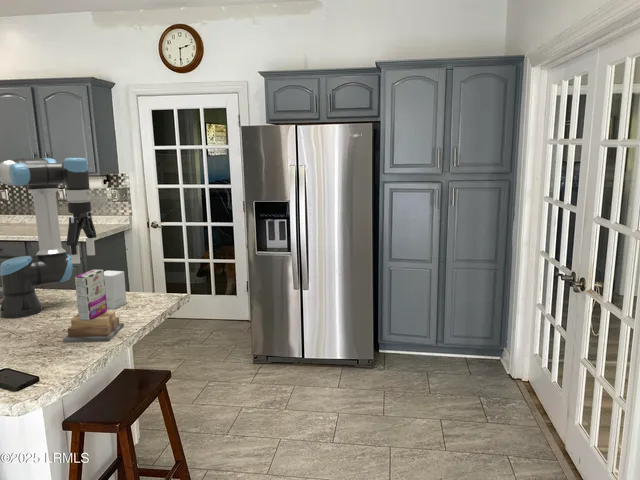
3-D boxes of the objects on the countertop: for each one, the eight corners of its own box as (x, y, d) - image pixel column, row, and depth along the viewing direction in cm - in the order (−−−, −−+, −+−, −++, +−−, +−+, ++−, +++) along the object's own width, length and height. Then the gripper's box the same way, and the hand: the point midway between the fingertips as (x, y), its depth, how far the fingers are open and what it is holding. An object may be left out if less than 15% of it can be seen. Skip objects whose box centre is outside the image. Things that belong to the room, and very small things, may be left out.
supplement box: (127, 303, 223) (125, 271, 221) (114, 309, 215) (112, 275, 212) (109, 301, 225) (107, 269, 223) (96, 307, 217) (93, 274, 214)
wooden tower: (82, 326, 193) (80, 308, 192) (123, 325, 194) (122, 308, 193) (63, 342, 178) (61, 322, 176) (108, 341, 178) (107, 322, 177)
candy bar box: (95, 310, 190) (92, 269, 187) (107, 311, 189) (104, 269, 186) (77, 320, 179) (73, 276, 176) (90, 320, 178) (86, 276, 176)
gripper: (75, 205, 166) (80, 267, 170) (102, 197, 190) (106, 251, 194) (52, 205, 165) (57, 267, 169) (82, 197, 190) (86, 252, 194)
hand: (83, 259), depth 182 cm, fingers open, 13 cm apart
